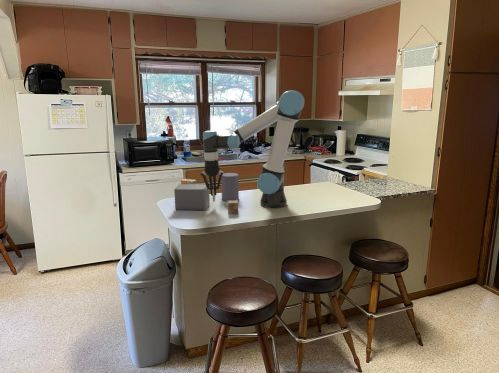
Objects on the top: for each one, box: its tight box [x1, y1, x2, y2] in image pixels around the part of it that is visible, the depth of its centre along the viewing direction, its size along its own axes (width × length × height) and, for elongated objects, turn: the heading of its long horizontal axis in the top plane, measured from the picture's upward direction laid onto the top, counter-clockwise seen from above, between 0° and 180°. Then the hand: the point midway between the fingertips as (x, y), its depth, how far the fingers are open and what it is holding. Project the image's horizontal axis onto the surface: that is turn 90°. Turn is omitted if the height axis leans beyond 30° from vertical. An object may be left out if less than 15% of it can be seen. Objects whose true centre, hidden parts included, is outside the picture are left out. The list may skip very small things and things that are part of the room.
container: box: [220, 172, 240, 202], centre depth 228 cm, size 10×10×15 cm
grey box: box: [173, 183, 206, 212], centre depth 210 cm, size 16×12×12 cm
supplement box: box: [180, 178, 197, 184], centre depth 223 cm, size 8×5×13 cm, turn 70°
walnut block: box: [227, 199, 239, 215], centre depth 202 cm, size 5×5×6 cm
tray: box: [204, 187, 211, 211], centre depth 210 cm, size 16×12×11 cm
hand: (214, 201), depth 211 cm, fingers closed
